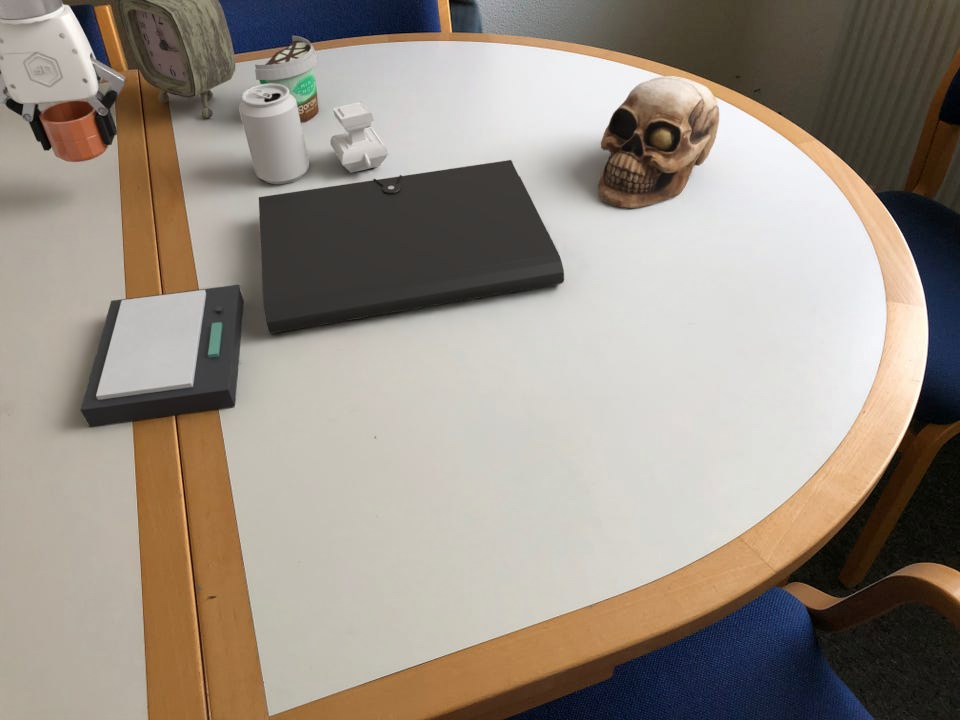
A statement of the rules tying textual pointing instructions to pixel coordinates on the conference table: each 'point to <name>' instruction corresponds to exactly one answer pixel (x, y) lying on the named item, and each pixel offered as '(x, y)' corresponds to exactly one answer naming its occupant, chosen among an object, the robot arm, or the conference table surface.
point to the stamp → (357, 139)
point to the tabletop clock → (180, 45)
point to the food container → (294, 75)
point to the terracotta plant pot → (73, 131)
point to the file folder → (401, 245)
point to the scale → (166, 356)
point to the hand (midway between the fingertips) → (80, 142)
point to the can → (274, 133)
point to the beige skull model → (657, 141)
